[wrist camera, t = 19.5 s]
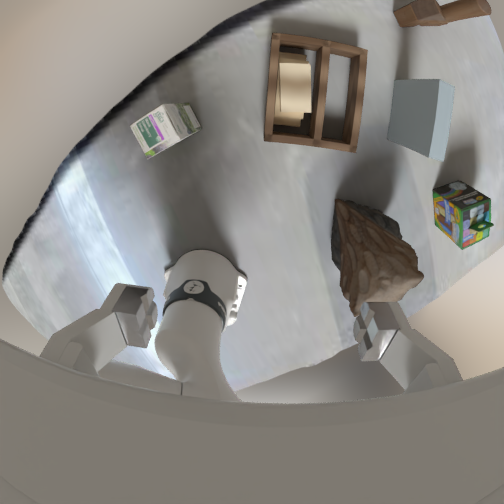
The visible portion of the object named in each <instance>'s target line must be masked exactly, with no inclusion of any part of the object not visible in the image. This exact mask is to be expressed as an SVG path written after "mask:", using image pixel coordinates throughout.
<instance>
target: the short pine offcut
mask: <svg viewBox="0 0 504 504" xmlns="http://www.w3.org/2000/svg"><path fill="white" fill-rule="evenodd" d="M279 85H280V112H305V113H311V66H310V64H300V63H279Z"/></svg>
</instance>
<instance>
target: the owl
mask: <svg viewBox="0 0 504 504" xmlns="http://www.w3.org/2000/svg"><path fill="white" fill-rule="evenodd" d="M333 219H334V225H333V227H332V231H333V236H332V239H331V251H332V260H333V262H334V264H335V265H336V266H337V268H338V269H339V270H340V276H341V278H340V287H341V288H342V292H343V296H344V297H345V298H346V299H347V300H348V301H349V302H350V304H349V307H350V309H351V311H352V313H353V315H354V317H356V316H358V315H360V314H361V311H360V308H361V305H362V304H363V303H364V302H397V301H399V300H401V299H402V298H403V296H404V295H405V294H406V292H407V291H408V290H409V289H411V288H414V287H416V286H417V285H418V284H419V283H420V282H421V281H422V280H423V278H424V275H423V273H422V272H420V271H418V266H417V265H418V257H417V256H416V253H415V250H414V249H413V248H412V247H411V245H409V244H408V243H406V242H405V241H403V240H401V239H402V235H401V233H400V228H399V224H398V222H396V221H395V220H393V219H392V218H390V217H388V216H386V215H384V214H383V213H382V212H381V211H379V210H376V209H370V208H369V207H368V206H362V205H357V204H355V203H354V202H352V201H344V200H341V199H335V210H334V217H333Z"/></svg>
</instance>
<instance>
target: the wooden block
mask: <svg viewBox="0 0 504 504" xmlns="http://www.w3.org/2000/svg"><path fill="white" fill-rule="evenodd" d="M490 14H491V7H490V5H489V3H488V2H487V1H486V0H458V1H454V2H451V3H448V4H445V5H442V6H439V4H438V3H437V1H436V0H416V1H414V2H411V3H410V4H408V5H406V6H404V7H402V8H400V9H398V10H396V11H394V15H395V17H396V19H397V21H398V23H399V26H400V27H413V26H416V25H420V26H441V25H445V24H448V23H449V22H453V21H458V20H462V19H468V18H473V17H479V16H485V15H490Z"/></svg>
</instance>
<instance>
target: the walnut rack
mask: <svg viewBox="0 0 504 504" xmlns="http://www.w3.org/2000/svg"><path fill="white" fill-rule="evenodd" d="M279 46H283V47H292V48H300V49H307V50H313V51H317V53H316V66H315V78H314V89H313V99H312V109H311V119H310V128H309V135H302V134H294V133H285V132H274V131H273V121H274V109H275V97H276V84H277V72H278V59H279ZM367 51H368V50H366V49H362V48H359V47H355V46H351V45H347V44H342V43H338V42H333V41H328V40H323V39H317V38H311V37H305V36H298V35H290V34H281V33H272V38H271V50H270V63H269V76H268V89H267V102H266V115H265V128H264V141H268V142H279V143H289V144H298V145H306V146H314V147H321V148H328V149H335V150H341V151H347V152H353V153H356V149H357V143H358V136H359V129H360V122H361V114H362V106H363V98H364V88H365V78H366V66H367ZM330 54H335V55H339V56H344V57H348V58H351V64H350V76H349V86H348V96H347V105H346V114H345V122H344V129H343V137H342V140H337V139H331V138H324V137H322V129H323V120H324V111H325V102H326V92H327V82H328V70H329V58H330Z"/></svg>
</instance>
